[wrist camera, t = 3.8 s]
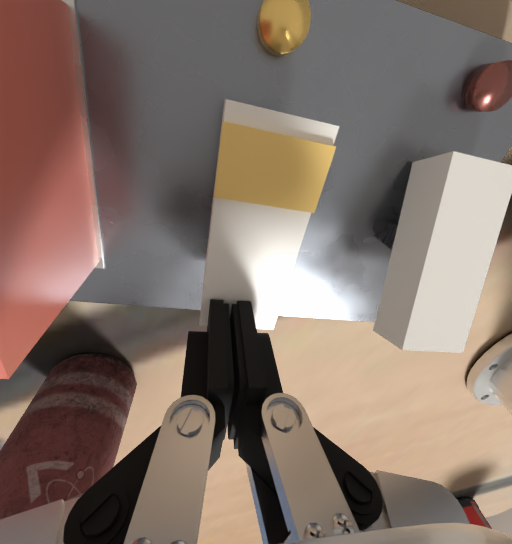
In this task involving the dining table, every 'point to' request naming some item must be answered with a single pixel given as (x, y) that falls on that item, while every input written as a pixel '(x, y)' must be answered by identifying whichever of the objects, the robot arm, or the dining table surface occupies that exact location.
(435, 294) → the block
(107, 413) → the can
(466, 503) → the speaker
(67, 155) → the cap
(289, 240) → the block
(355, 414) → the dining table surface
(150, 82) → the panel
